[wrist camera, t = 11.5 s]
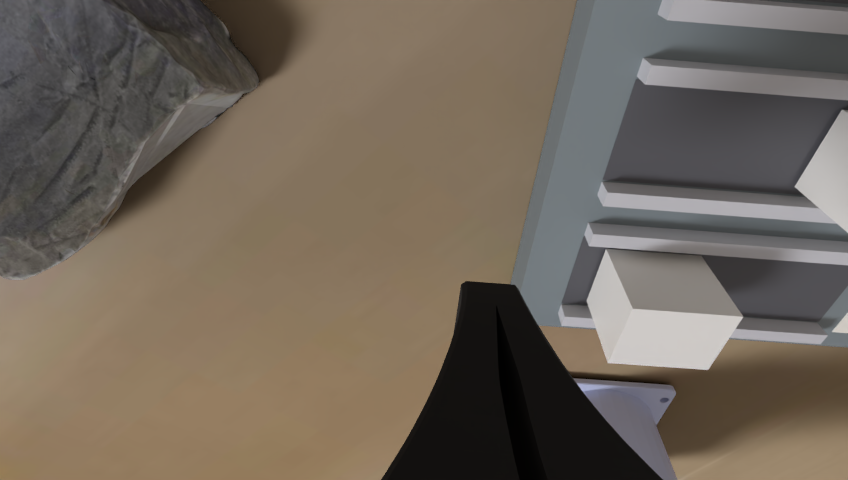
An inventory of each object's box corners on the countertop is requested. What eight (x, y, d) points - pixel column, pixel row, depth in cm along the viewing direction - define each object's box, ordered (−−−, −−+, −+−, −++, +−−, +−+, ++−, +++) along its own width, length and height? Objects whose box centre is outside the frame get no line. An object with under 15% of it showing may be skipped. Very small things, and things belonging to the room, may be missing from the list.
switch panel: (852, 319, 25) (893, 363, 23) (507, 294, 25) (514, 336, 22) (1302, -201, 13) (1483, -218, 11) (638, -259, 13) (680, -289, 10)
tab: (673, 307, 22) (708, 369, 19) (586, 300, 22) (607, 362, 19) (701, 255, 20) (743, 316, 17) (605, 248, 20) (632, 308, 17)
